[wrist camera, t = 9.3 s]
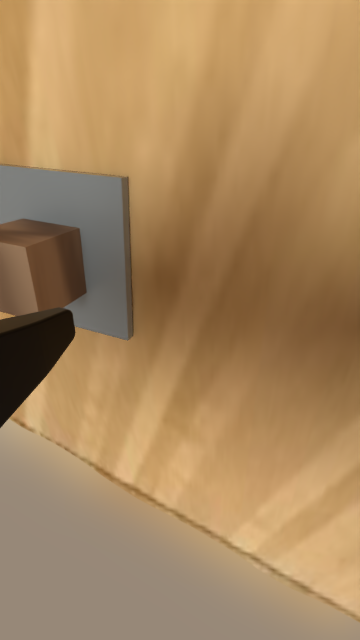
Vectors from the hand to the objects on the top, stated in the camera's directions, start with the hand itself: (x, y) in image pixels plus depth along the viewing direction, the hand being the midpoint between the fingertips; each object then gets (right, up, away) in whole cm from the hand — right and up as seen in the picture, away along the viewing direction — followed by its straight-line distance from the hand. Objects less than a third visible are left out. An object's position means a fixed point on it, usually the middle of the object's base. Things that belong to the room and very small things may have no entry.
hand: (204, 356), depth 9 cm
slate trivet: (-10, +6, +15) cm, 19 cm away
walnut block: (-10, +6, +15) cm, 19 cm away
